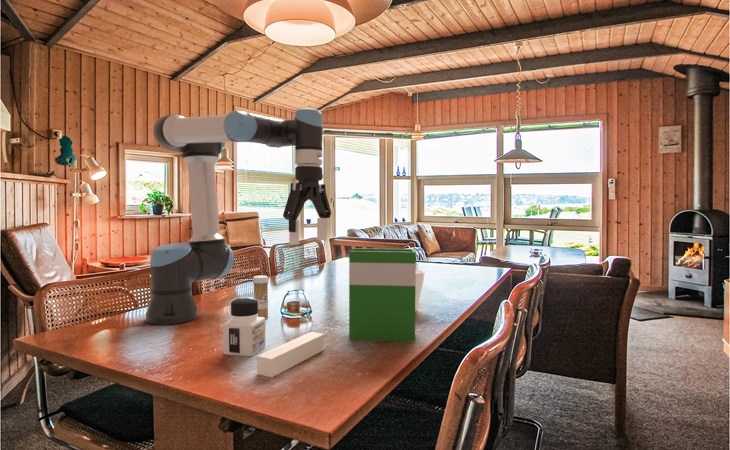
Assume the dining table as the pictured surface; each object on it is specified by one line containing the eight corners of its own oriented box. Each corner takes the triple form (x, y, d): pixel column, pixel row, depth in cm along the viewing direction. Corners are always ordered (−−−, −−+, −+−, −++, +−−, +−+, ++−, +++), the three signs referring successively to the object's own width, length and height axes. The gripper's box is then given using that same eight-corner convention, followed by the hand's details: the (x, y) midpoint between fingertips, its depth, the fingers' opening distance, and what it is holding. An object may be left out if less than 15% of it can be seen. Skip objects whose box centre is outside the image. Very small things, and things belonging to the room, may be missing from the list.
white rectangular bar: (257, 374, 96) (257, 355, 96) (311, 347, 114) (311, 331, 114) (271, 377, 95) (271, 359, 94) (324, 349, 112) (324, 334, 112)
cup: (423, 307, 157) (423, 269, 156) (424, 314, 146) (424, 274, 145) (393, 306, 158) (393, 268, 157) (392, 313, 147) (392, 273, 146)
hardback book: (349, 339, 120) (349, 251, 119) (352, 331, 128) (352, 248, 126) (414, 341, 119) (415, 252, 117) (414, 333, 126) (415, 249, 125)
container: (252, 357, 107) (251, 303, 106) (223, 354, 108) (222, 301, 108) (266, 346, 114) (265, 296, 114) (238, 344, 116) (237, 295, 115)
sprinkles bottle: (263, 320, 139) (263, 277, 138) (250, 319, 140) (250, 277, 139) (271, 317, 143) (270, 275, 142) (258, 315, 144) (258, 274, 144)
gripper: (293, 162, 111) (293, 247, 113) (342, 168, 133) (342, 239, 135) (269, 163, 115) (269, 245, 116) (321, 169, 137) (321, 238, 138)
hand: (308, 242), depth 125 cm, fingers open, 13 cm apart
